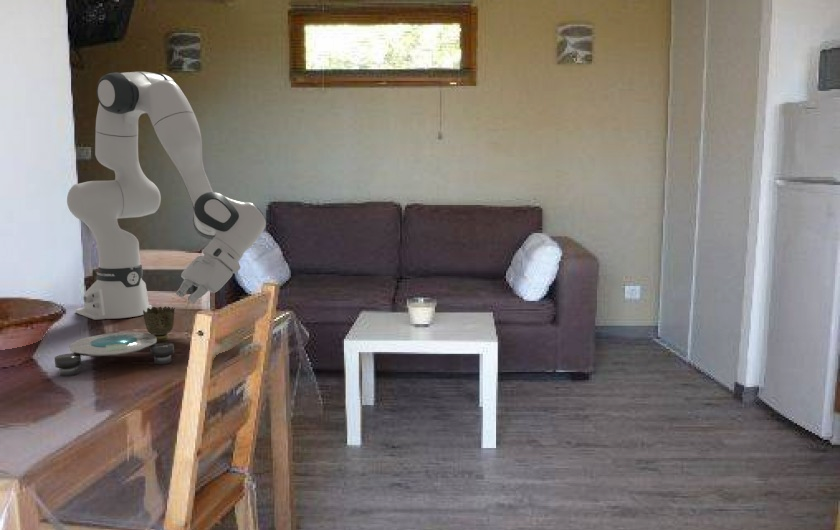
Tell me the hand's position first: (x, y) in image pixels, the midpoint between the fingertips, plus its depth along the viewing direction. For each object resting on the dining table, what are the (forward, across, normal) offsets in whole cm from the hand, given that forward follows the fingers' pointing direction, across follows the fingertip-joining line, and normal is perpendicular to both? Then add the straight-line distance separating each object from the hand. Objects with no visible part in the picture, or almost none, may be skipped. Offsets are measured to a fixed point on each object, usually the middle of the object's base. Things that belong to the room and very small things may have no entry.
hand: (184, 298), depth 188 cm
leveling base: (+23, +15, -9) cm, 29 cm away
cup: (+12, 0, +2) cm, 12 cm away
